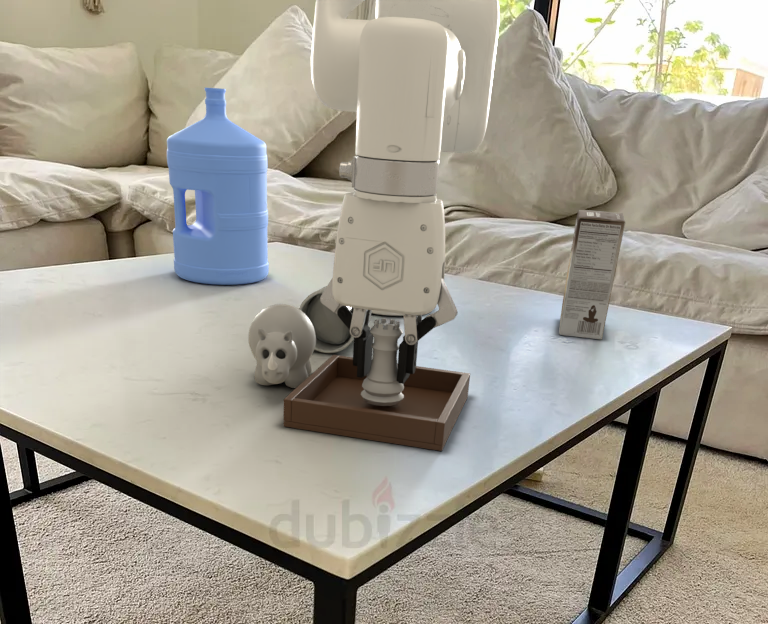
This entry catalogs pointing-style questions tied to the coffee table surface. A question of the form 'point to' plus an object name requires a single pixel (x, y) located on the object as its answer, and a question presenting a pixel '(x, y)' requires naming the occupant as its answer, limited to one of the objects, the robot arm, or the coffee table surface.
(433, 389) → the tray
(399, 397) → the rook chess piece
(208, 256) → the water jug
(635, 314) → the coffee table surface
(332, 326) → the ceramic mug
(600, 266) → the coffee box
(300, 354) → the round bodied animal figurine
